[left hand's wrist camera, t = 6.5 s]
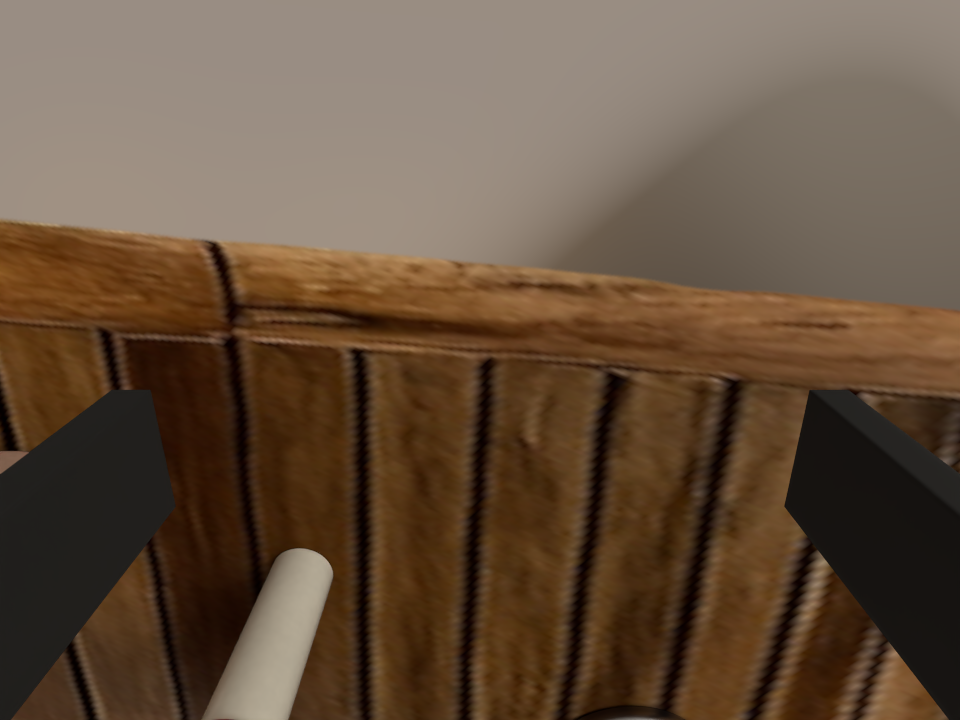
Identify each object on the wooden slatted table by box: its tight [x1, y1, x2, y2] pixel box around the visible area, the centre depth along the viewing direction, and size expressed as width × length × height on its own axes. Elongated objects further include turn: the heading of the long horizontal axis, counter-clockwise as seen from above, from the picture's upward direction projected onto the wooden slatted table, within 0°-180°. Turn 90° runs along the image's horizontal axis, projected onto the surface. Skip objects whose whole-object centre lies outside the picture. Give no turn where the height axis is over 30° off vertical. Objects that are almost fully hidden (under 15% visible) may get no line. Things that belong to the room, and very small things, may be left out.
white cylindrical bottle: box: [201, 548, 333, 720], centre depth 41 cm, size 5×5×17 cm
